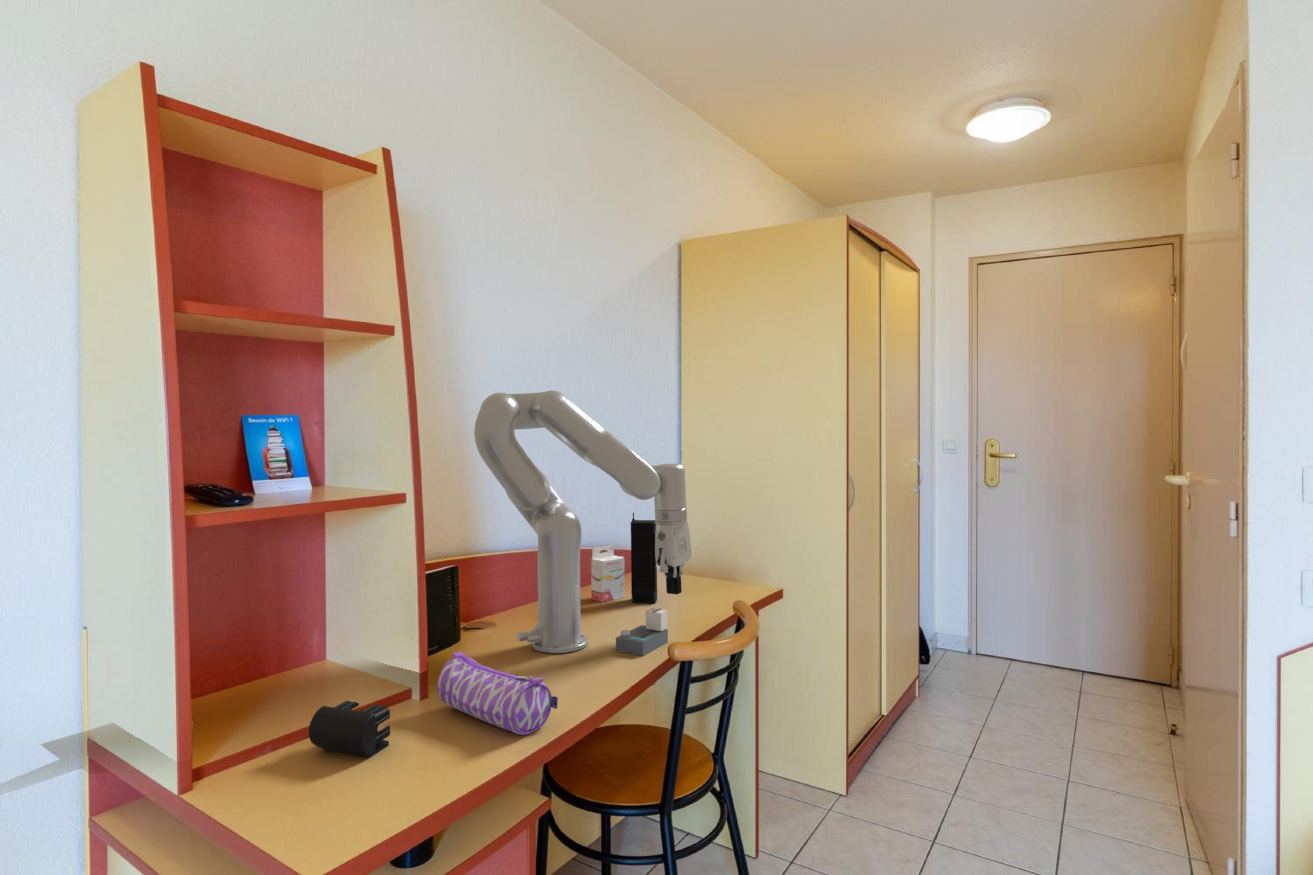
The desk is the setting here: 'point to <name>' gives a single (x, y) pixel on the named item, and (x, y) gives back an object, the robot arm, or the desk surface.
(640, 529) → the portable radio
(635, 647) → the console
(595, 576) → the ink cartridge box
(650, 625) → the block
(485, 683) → the pencil case
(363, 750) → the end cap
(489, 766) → the desk surface
